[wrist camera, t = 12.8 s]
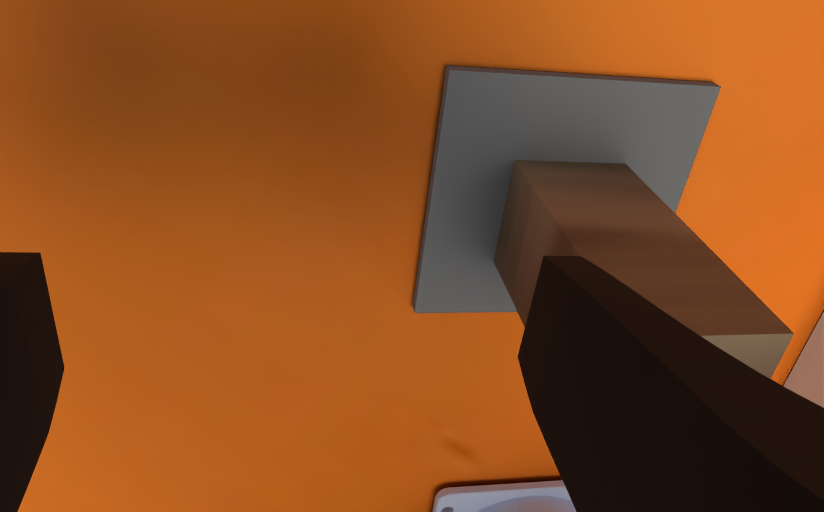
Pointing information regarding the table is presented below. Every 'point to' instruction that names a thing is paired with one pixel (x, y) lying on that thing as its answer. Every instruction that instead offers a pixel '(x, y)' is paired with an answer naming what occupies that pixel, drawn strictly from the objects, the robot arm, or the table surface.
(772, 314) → the walnut peg
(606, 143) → the rubber pad
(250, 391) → the table surface
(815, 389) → the button base
